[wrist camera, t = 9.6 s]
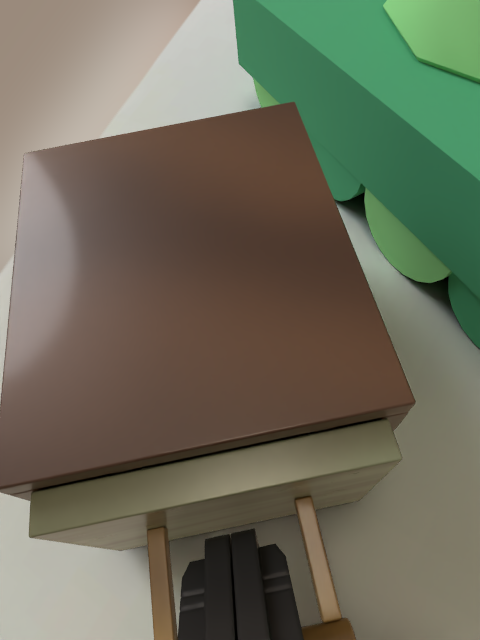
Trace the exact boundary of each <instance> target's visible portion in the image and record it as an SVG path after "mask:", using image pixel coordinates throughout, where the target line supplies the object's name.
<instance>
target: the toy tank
mask: <svg viewBox="0 0 480 640" xmlns="http://www.w3.org/2000/svg"><path fill="white" fill-rule="evenodd" d="M233 5H234V16H235V27H236V38H237V49H238V59H239V64H240V65H241V66H242V67H243V68H244V69H245V70H246V71H247V72H248V73H249V74H250V75H251V76H252V77H253V80H254V84H255V89H256V93H257V96H258V99H259V102H260V105H261V108H263V107H268V106H273V105H278V104H284V103H289V102H295V104H296V106H297V108H298V111H299V113H300V116H301V118H302V121H303V123H304V126H305V128H306V131H307V133H308V136H309V138H310V141H311V143H312V146H313V148H314V151H315V153H316V156H317V158H318V161H319V163H320V166H321V168H322V171H323V173H324V176H325V178H326V180H327V183H328V185H329V188H330V190H331V193H332V195H333V198H334V199H336V200H338V201H345V200H350V199H352V198H354V197H356V196H358V195H360V194H362V193H364V192H365V198H364V202H365V210H366V218H367V221H368V224H369V227H370V230H371V233H372V235H373V237H374V239H375V241H376V243H377V245H378V247H379V249H380V251H381V252H382V253H383V254H384V256H385V257H386V258H387V260H388V261H389V262H390V263H391V264H392V265H393V266H394V267H395V268H396V269H397V270H399V271H400V272H401V273H402V274H403V275H405V276H407V277H409V278H411V279H413V280H415V281H418V282H426V283H433V282H436V281H438V280H441V279H444V278H446V277H448V276H449V279H448V293H449V297H450V301H451V305H452V309H453V312H454V314H455V316H456V318H457V319H458V321H459V323H460V325H461V327H462V329H463V330H464V331H465V333H466V334H467V335H468V336H469V338H470V339H471V340H472V342H473V343H474V344H475V345H476V346H477V347H479V348H480V0H233Z"/></svg>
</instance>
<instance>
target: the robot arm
mask: <svg viewBox="0 0 480 640" xmlns="http://www.w3.org/2000/svg"><path fill="white" fill-rule="evenodd" d="M178 640H304V638H303V634H302V629H301V625H300V620H299V615H298V611H297V606H296V602H295V597H294V593H293V588H292V584H291V579H290V575H289V570H288V565H287V561H286V556H285V555H284V554H283V552H282V551H281V550H280V549H279V547H278V546H277V545H276V544H272V545H267V546H263V547H259V545H258V540H257V536H256V531H255V529H250V530H245V531H241V532H236V533H231V537H230V534H227V535H222V536H218V537H213V538H208V539H205V559H202V560H197V561H193V562H190V563H189V565H188V567H187V569H186V571H185V573H184V575H183V577H182V587H181V601H180V615H179V629H178Z"/></svg>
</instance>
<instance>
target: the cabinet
mask: <svg viewBox="0 0 480 640" xmlns="http://www.w3.org/2000/svg"><path fill="white" fill-rule="evenodd" d="M22 171H23V172H22V180H21V191H20V202H19V212H18V223H17V235H16V244H15V255H14V266H13V276H12V287H11V297H10V308H9V319H8V329H7V340H6V351H5V361H4V372H3V383H2V393H1V404H0V492H1V493H4V494H8V495H11V496H15V497H18V498H22V499H25V500H29V501H31V493H32V492H35V491H39V490H44V489H49V488H54V487H59V486H64V485H68V484H73V483H78V482H83V481H88V480H93V479H97V478H102V477H107V476H112V475H114V474H112V473H115V472H120V471H125V470H130V469H135V468H140V467H144V466H149V465H154V464H159V463H164V462H169V461H173V460H178V459H183V458H188V457H193V456H197V455H202V454H207V453H212V452H217V451H222V450H226V449H231V448H236V447H241V446H246V445H251V444H255V443H260V442H265V441H270V440H275V439H280V438H284V437H289V436H294V435H299V434H304V433H309V432H313V431H318V430H323V429H328V428H333V427H334V428H333V430H334V429H339V428H344V427H348V426H353V425H358V424H363V423H368V422H372V421H377V420H382V419H388V420H389V422H390V425H391V427H392V430H393V432H394V430H395V429H396V428H397V426H398V425H399V424H400V423H401V421H402V420H403V419H404V418H405V416H406V415H407V414H408V411H410V409H411V408H412V407H413V406H414V404H415V399H414V396H413V394H412V392H411V389H410V387H409V384H408V382H407V379H406V377H405V374H404V372H403V369H402V367H401V364H400V362H399V359H398V357H397V354H396V352H395V349H394V347H393V344H392V342H391V339H390V337H389V334H388V332H387V329H386V327H385V324H384V322H383V320H382V317H381V315H380V312H379V310H378V307H377V305H376V302H375V300H374V297H373V295H372V292H371V290H370V287H369V285H368V282H367V280H366V277H365V275H364V272H363V270H362V267H361V265H360V262H359V260H358V257H357V255H356V252H355V250H354V248H353V245H352V243H351V240H350V238H349V235H348V233H347V230H346V228H345V225H344V223H343V220H342V218H341V215H340V213H339V210H338V208H337V205H336V203H335V200H334V198H333V195H332V193H331V190H330V188H329V185H328V183H327V180H326V178H325V176H324V173H323V171H322V168H321V166H320V163H319V161H318V158H317V156H316V153H315V151H314V148H313V146H312V143H311V141H310V138H309V136H308V133H307V131H306V128H305V126H304V123H303V121H302V118H301V116H300V113H299V111H298V108H297V106H296V104H295V102H289V103H284V104H278V105H273V106H268V107H263V108H258V109H252V110H247V111H242V112H237V113H231V114H226V115H221V116H216V117H211V118H205V119H200V120H195V121H190V122H184V123H179V124H174V125H169V126H164V127H158V128H153V129H148V130H143V131H137V132H132V133H127V134H122V135H117V136H111V137H106V138H101V139H96V140H90V141H85V142H80V143H75V144H70V145H65V146H59V147H55V148H49V149H43V150H38V151H33V152H28V153H25V154H24V159H23V170H22Z"/></svg>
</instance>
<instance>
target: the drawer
mask: <svg viewBox="0 0 480 640" xmlns="http://www.w3.org/2000/svg"><path fill="white" fill-rule="evenodd" d="M333 428H334V427H333ZM333 428H328V429H323V430H318V431H313V432H309V433H304V434H299V435H294V436H289V437H284V438H280V439H275V440H270V441H265V442H260V443H255V444H251V445H246V446H241V447H236V448H231V449H226V450H222V451H217V452H212V453H207V454H202V455H197V456H193V457H188V458H183V459H178V460H173V461H169V462H164V463H159V464H154V465H149V466H144V467H140V468H135V469H130V470H125V471H120V472H115V473H112V474H114V475H112V476H107V477H102V478H97V479H93V480H88V481H83V482H78V483H73V484H68V485H64V486H59V487H54V488H49V489H44V490H39V491H35V492H32V493H31V503H30V522H29V537H30V538H35V539H42V540H49V541H56V542H63V543H69V544H76V545H83V546H90V547H97V548H104V549H111V550H118V551H122V550H127V549H132V548H136V547H141V546H146V545H148V557H149V572H150V586H151V600H152V615H153V629H154V640H178V635H177V624H176V613H175V602H174V591H173V580H172V570H171V559H170V548H169V541H170V540H174V539H179V538H184V537H189V536H193V535H198V534H203V533H208V532H212V531H217V530H222V529H227V528H231V527H236V526H241V525H246V524H250V523H255V522H260V521H265V520H269V519H274V518H279V517H283V516H288V515H293V514H297V518H298V522H299V526H300V531H301V535H302V539H303V544H304V548H305V553H306V557H307V561H308V566H309V570H310V574H311V579H312V583H313V587H314V592H315V596H316V600H317V605H318V609H319V614H320V618H321V620H322V622H323V623H318V624H314V625H309V626H304V627H301V629H302V634H303V638H304V640H356V638H355V634H354V631H353V628H352V626H351V623H350V621H349V620H348V618H342V615H341V611H340V607H339V603H338V599H337V595H336V591H335V587H334V583H333V579H332V575H331V571H330V567H329V563H328V559H327V555H326V551H325V547H324V543H323V539H322V535H321V531H320V527H319V523H318V519H317V515H316V511H315V510H317V509H321V508H326V507H331V506H336V505H340V504H345V503H350V502H355V501H359V500H360V499H362V498H363V497H364V496H365V495H366V494H367V493H368V492H369V491H370V490H371V489H372V488H373V487H374V486H375V485H376V484H377V483H378V482H379V481H380V480H381V479H382V478H384V477H385V476H386V475H387V474H388V473H389V472H390V471H391V470H392V469H393V468H394V467H395V466H396V465H397V464H398V463H399V462H400V461H401V460H402V455H401V452H400V449H399V447H398V444H397V441H396V438H395V436H394V433H393V430H392V427H391V425H390V422H389V420H388V419H382V420H377V421H372V422H368V423H363V424H358V425H353V426H348V427H344V428H339V429H334V430H333Z"/></svg>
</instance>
